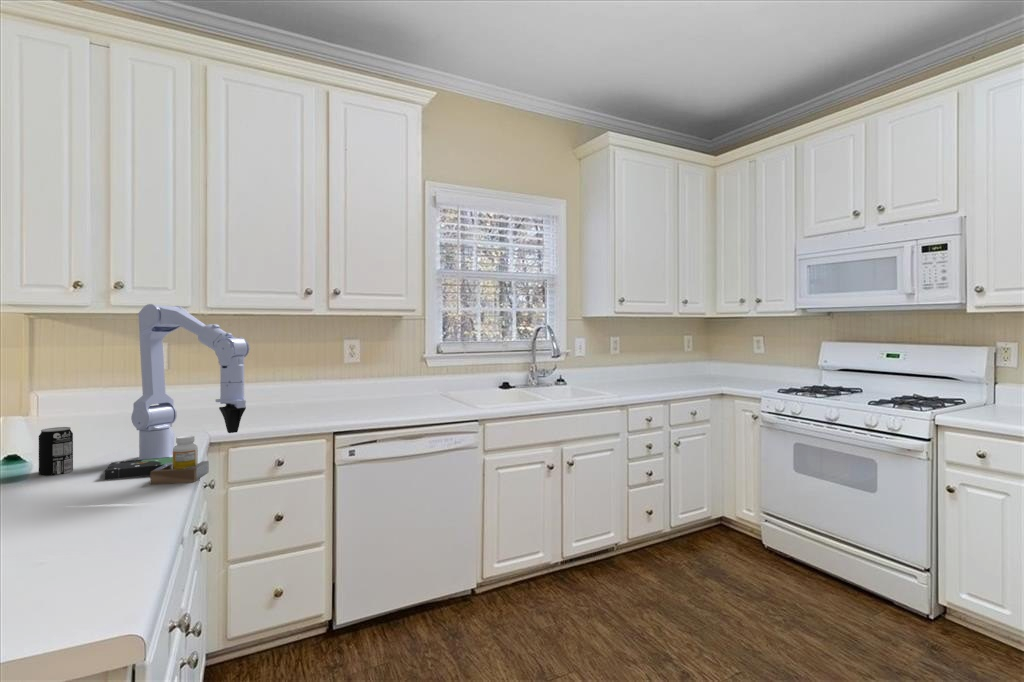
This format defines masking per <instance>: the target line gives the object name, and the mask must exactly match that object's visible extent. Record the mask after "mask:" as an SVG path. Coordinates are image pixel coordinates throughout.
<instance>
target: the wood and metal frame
mask: <svg viewBox="0 0 1024 682" xmlns="http://www.w3.org/2000/svg"><path fill="white" fill-rule="evenodd" d="M209 467H210V466H209V460H202V461H200V462H198V464H197V465H195V466H193V467H192V468H190V469H173V463H167V464H165V465H163V466H161V467H159V468H157V469H155V470H153V471H151V472H150V476H149V477H150V478H149V479H150V482H149V484H150V485H161V484H163V485H164V484H182V483H196V481H199V479H201V478H203V477H204V476H206V475H207V474H209V472H210V470H209Z"/></svg>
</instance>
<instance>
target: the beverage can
mask: <svg viewBox="0 0 1024 682" xmlns="http://www.w3.org/2000/svg"><path fill="white" fill-rule="evenodd" d="M73 471H74V433H73V431H72V430H71V427H70V426H57V427H48V428H42V429H41V430H40V433H39V435H38V475H39V476H42V477H44V476H45V477H49V476H50V477H51V476H61V475H65V474H69V473H72V472H73Z"/></svg>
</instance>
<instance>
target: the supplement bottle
mask: <svg viewBox="0 0 1024 682" xmlns="http://www.w3.org/2000/svg"><path fill="white" fill-rule="evenodd" d="M175 444H177V445H174V448H173V469H190V468H192V467H193V466H195V465H197V464H198V463H199V461H198V459H199V458H198V454H199V453H198V452H199V450H198V448H199V447H198V445H197V444H195V435H181V436H177V437H176V438H175Z"/></svg>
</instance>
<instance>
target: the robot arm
mask: <svg viewBox="0 0 1024 682" xmlns="http://www.w3.org/2000/svg"><path fill="white" fill-rule="evenodd" d="M137 314H138V329H139V331H138V333H139V336H138V338H139V348H140V349H139V351H140V352H139V354H140V369H141V373H140V374H141V385H142V387H141V388H142V395H141V396H140V397H139V398H138V399H137V400H136V401H134V402H133V404H132V405H133V406H132V407H133V410H132V413H131V423H132V424H133V425H132V426H133V427H134V428H135V429H136V431H138V436H139V437H138V443H139V445H138V449H139V450H138V453H139V454H138V455H139V456H138V459H136V460H142V459H153V458H163V457H173V448H174V447H175V432H174V430H173V428H172V427H173V424H174V423H175V422H176V420H177V417H178V414H177V413H178V412H177V409H176V407H175V402H174V401H175V400H174V398H172V397H171V396H170V395H168V394H167V391H166V379H165V378H166V376H165V374H166V373H165V361H164V357H165V356H164V345H163V344H164V343H163V340H164V339H165V337H167V336H168V335H170V334H171V333H173V332H175V331H176V330H178V329H180V328H183V329H184V330H186V331H188V332H191V333H193V334H194V335H196V336H197V339H198V341H199V342H200V343H201V344H203V345H204V346H206V347H208V348H209V349H211V350H213V351H214V352H215V355H216V357H217V359H218V365H219V366H220V372H219V373H220V377H219V378H220V385H219V386H220V389H219V391H220V397H219V398H217V399H216V398H215V402H216V403H220V404H221V405H222V404H223V405H224V406H220V407H218V409H219V411H220V412H221V414H222V415H221V416H222V417H223V419H224V423H225V427H226V432H227V433H228V434H233V433H234V434H235V433H238V431H239V428H240V423H241V419H242V417H243V415H244V412H245V410H247V409H246V408H247V407H246V406H247V405H246V402H247V401H246V397H245V358H246V357H247V356H248V354H249V353H250V352H249V351H250V344H249V342H248V341H247V340H246V339H245V338H244V337H240V336H238V337H237V336H236V337H235V336H233V333H231V332H226V331H225V330H223V329H221V328H220V327H221V326H220V325H219V324H217V323H214V324H211V323H210V324H207V325H206V324H205V323H203V322H202V321H200V320H199V319H198V318H196V317H195V316H194V315H192V314H191V313H189V312H188V309H185V308H183V307H181V306H180V305H174V306H173V305H161V304H153V303H148V304H146V305H144V306H143V308H141V310H139V312H138V313H137Z"/></svg>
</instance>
